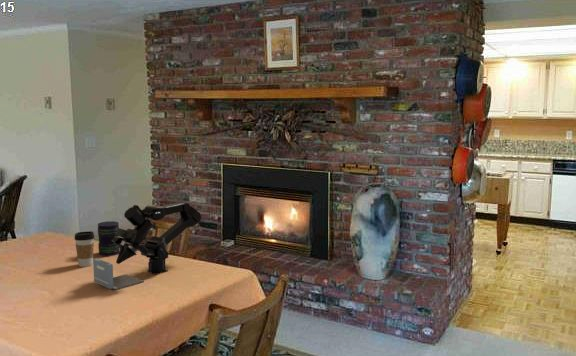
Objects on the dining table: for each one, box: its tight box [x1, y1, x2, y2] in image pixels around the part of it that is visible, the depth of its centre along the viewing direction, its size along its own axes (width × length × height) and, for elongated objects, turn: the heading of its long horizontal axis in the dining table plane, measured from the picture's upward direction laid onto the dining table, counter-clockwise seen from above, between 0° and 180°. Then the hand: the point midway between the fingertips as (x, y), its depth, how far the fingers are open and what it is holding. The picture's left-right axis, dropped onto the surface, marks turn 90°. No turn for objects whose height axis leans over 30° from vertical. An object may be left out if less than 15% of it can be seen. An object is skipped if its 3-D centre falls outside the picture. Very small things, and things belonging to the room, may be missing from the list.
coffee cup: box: [74, 231, 95, 268], centre depth 229 cm, size 8×8×15 cm
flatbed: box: [110, 273, 145, 291], centre depth 207 cm, size 13×13×1 cm
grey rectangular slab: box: [92, 257, 114, 290], centre depth 200 cm, size 2×12×10 cm, turn 49°
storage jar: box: [97, 220, 120, 257], centre depth 248 cm, size 10×10×15 cm
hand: (117, 263), depth 205 cm, fingers closed
